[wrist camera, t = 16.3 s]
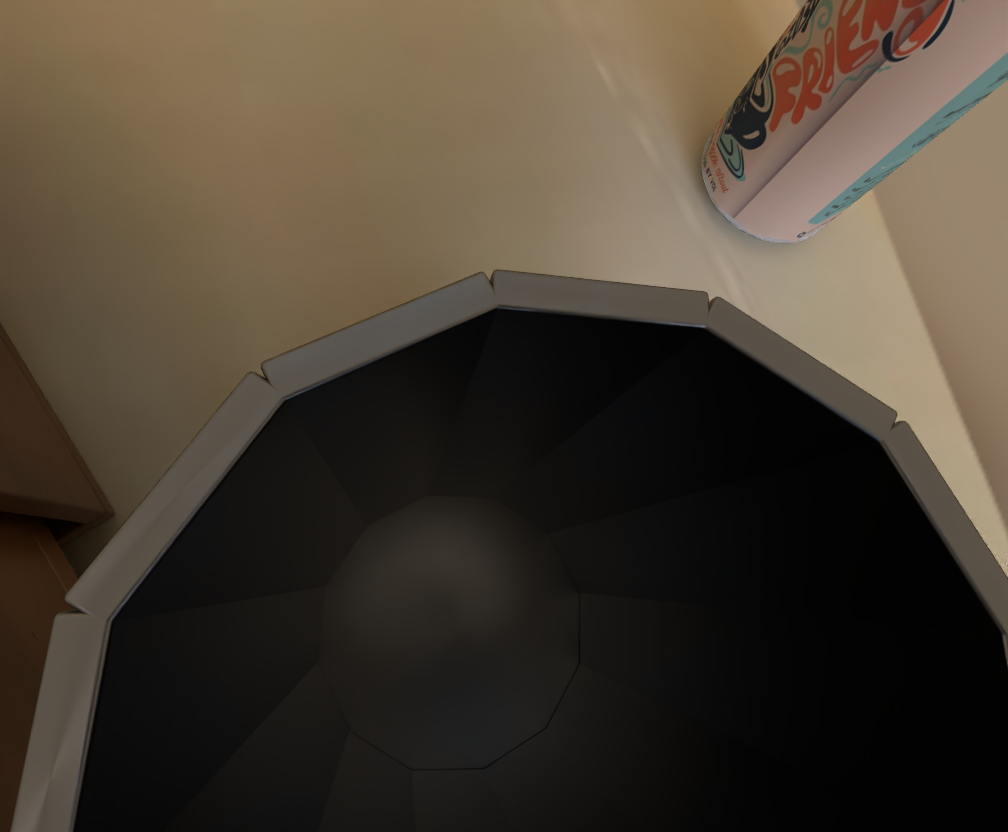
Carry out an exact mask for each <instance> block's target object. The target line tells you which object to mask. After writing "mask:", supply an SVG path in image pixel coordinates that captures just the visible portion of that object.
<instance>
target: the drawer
mask: <svg viewBox="0 0 1008 832" xmlns="http://www.w3.org/2000/svg"><path fill="white" fill-rule="evenodd" d="M77 580H78V577H77V576H76V574H75V572H74V570H73V569H72V567H71V565H70V564H69V562H68V560H67V559H66V557H65V555H64V553H63V552H62V550H61V548H60V547H59V545H58V543H57V542H56V540H55V538H54V536H53V535H52V533H51V531H50V530H49V528H48V526H47V525H46V523H45V521H44V519H43V518H42V517H38V516H31V515H24V514H18V513H11V512H4V511H0V832H10V830H11V825H12V820H13V815H14V811H15V806H16V801H17V796H18V791H19V786H20V781H21V776H22V772H23V767H24V762H25V757H26V752H27V747H28V742H29V738H30V733H31V728H32V723H33V718H34V713H35V708H36V703H37V699H38V694H39V689H40V684H41V679H42V674H43V669H44V665H45V660H46V655H47V650H48V645H49V640H50V635H51V631H52V626H53V621H54V617H55V616H56V614H57V613H59V612H61V611H66V610H75V608H74V607H72V606H71V605H69V604H67V602H66V601H65V600H64V597H65V595H66V593H67V592H68V591H69V590H70V588H71V587H72V586H73V585H74V584H75V582H76V581H77Z"/></svg>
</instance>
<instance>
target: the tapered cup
mask: <svg viewBox="0 0 1008 832" xmlns="http://www.w3.org/2000/svg"><path fill="white" fill-rule="evenodd" d="M261 370H262V372H263V374H264V376H265V378H266V379H265V378H264V377H262V376H260V375H259V374H257V373H256V372H251V371H250V372H249V373H247V374H246V375H245V377H244V378H243V379H242V380H241V382H240V383H239V384H238V385H237V386H236V388H235V389H234V390H233V391H232V392H231V394H230V395H229V396H228V397H227V399H226V400H225V401H224V402H223V403H222V405H221V406H220V407H219V408H218V410H217V411H216V412H215V413H214V414H213V416H212V417H211V418H210V419H209V420H208V422H207V423H206V424H205V425H204V427H203V428H202V429H201V430H200V431H199V433H198V434H197V435H196V436H195V438H194V439H193V440H192V441H191V442H190V444H189V445H188V446H187V447H186V448H185V450H184V451H183V452H182V453H181V455H180V456H179V457H178V458H177V459H176V461H175V462H174V463H173V464H172V466H171V467H170V468H169V469H168V470H167V472H166V473H165V474H164V475H163V476H162V478H161V479H160V480H159V481H158V483H157V484H156V485H155V486H154V487H153V489H152V490H151V491H150V492H149V494H148V495H147V496H146V497H145V498H144V500H143V501H142V502H141V503H140V504H139V506H138V507H137V508H136V509H135V511H134V512H133V513H132V514H131V515H130V517H129V518H128V519H127V520H126V522H125V523H124V524H123V525H122V526H121V528H120V529H119V530H118V531H117V532H116V534H115V535H114V536H113V537H112V539H111V540H110V541H109V542H108V543H107V545H106V546H105V547H104V548H103V550H102V551H101V552H100V553H99V554H98V556H97V557H96V558H95V559H94V560H93V562H92V563H91V564H90V565H89V567H88V568H87V569H86V570H85V571H84V573H83V574H82V575H81V576H80V578H79V579H78V580H77V581H76V582H75V584H74V585H73V586H72V587H71V588H70V590H69V591H68V592H67V593H66V595H65V597H64V600H65V601H66V602H67V604H69V605H71V606H72V607H74V608H75V610H66V611H61V612H59V613H57V614H56V616H55V617H54V621H53V626H52V631H51V635H50V640H49V645H48V650H47V655H46V660H45V665H44V669H43V674H42V679H41V684H40V689H39V694H38V699H37V703H36V708H35V713H34V718H33V723H32V728H31V733H30V738H29V742H28V747H27V752H26V757H25V762H24V767H23V772H22V776H21V781H20V786H19V791H18V796H17V801H16V806H15V811H14V815H13V820H12V825H11V830H10V832H1008V577H1007V576H1006V574H1005V573H1004V571H1003V570H1002V568H1001V566H1000V565H999V563H998V562H997V560H996V559H995V557H994V556H993V554H992V553H991V551H990V549H989V548H988V546H987V545H986V543H985V542H984V540H983V539H982V537H981V536H980V534H979V532H978V531H977V529H976V528H975V526H974V525H973V523H972V522H971V520H970V519H969V517H968V516H967V514H966V512H965V511H964V509H963V508H962V506H961V505H960V503H959V502H958V500H957V499H956V497H955V495H954V494H953V492H952V491H951V489H950V488H949V486H948V485H947V483H946V482H945V480H944V478H943V477H942V475H941V474H940V472H939V471H938V469H937V468H936V466H935V465H934V463H933V461H932V460H931V458H930V457H929V455H928V454H927V452H926V451H925V449H924V448H923V446H922V444H921V443H920V441H919V440H918V438H917V437H916V435H915V434H914V432H913V431H912V429H911V427H910V426H909V424H908V423H907V422H906V421H899V422H896V423H894V422H895V420H896V417H897V412H896V411H895V410H893V409H892V408H890V407H889V406H887V405H886V404H884V403H883V402H881V401H880V400H878V399H876V398H875V397H873V396H872V395H870V394H869V393H867V392H866V391H864V390H863V389H861V388H859V387H858V386H856V385H855V384H853V383H852V382H850V381H849V380H847V379H846V378H844V377H843V376H841V375H839V374H838V373H836V372H835V371H833V370H832V369H830V368H829V367H827V366H826V365H824V364H822V363H821V362H819V361H818V360H816V359H815V358H813V357H812V356H810V355H809V354H807V353H806V352H804V351H802V350H801V349H799V348H798V347H796V346H795V345H793V344H792V343H790V342H789V341H787V340H785V339H784V338H782V337H781V336H779V335H778V334H776V333H775V332H773V331H772V330H770V329H769V328H767V327H765V326H764V325H762V324H761V323H759V322H758V321H756V320H755V319H753V318H752V317H750V316H748V315H747V314H745V313H744V312H742V311H741V310H739V309H738V308H736V307H735V306H733V305H731V304H730V303H728V302H727V301H725V300H724V299H722V298H721V297H715V298H713V299H712V300H711V301H710V302H709V299H708V294H707V292H704V291H694V290H685V289H676V288H666V287H657V286H648V285H638V284H629V283H620V282H610V281H601V280H592V279H582V278H573V277H563V276H554V275H545V274H535V273H526V272H517V271H507V270H494V271H493V273H492V275H491V278H490V281H489V279H488V277H487V276H486V274H485V273H484V272H479V273H476V274H474V275H471V276H469V277H467V278H464V279H462V280H459V281H457V282H454V283H452V284H450V285H447V286H445V287H442V288H440V289H438V290H435V291H433V292H430V293H428V294H425V295H423V296H421V297H418V298H416V299H413V300H411V301H408V302H406V303H404V304H401V305H399V306H396V307H394V308H391V309H389V310H387V311H384V312H382V313H379V314H377V315H374V316H372V317H370V318H367V319H365V320H362V321H360V322H358V323H355V324H353V325H350V326H348V327H345V328H343V329H341V330H338V331H336V332H333V333H331V334H328V335H326V336H324V337H321V338H319V339H316V340H314V341H311V342H309V343H307V344H304V345H302V346H299V347H297V348H295V349H292V350H290V351H287V352H285V353H282V354H280V355H278V356H275V357H273V358H270V359H268V360H265V361H264V362H262V363H261Z"/></svg>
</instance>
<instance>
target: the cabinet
mask: <svg viewBox="0 0 1008 832" xmlns="http://www.w3.org/2000/svg"><path fill="white" fill-rule="evenodd" d="M0 511H4V512H11V513H18V514H24V515H31V516H38V517H42V518H43V519H44V521H45V523H46V525H47V526H48V528H49V530H50V531H51V533H52V535H53V536H54V538H55V540H56V542H57V543H58V545H59V547H60V546H62V545H63V544H65V543H67V542H69V541H70V540H72V539H74V538H75V537H77V536H79V535H81V534H82V533H84V532H86V531H87V530H89V529H91V528H93V527H94V526H96V525H98V524H99V523H101V522H103V521H105V520H106V519H108V518H110V517H111V516H113V515H114V511H113V509H112V508H111V506H110V504H109V503H108V501H107V499H106V498H105V496H104V494H103V493H102V491H101V489H100V488H99V486H98V484H97V483H96V481H95V480H94V478H93V476H92V475H91V473H90V471H89V470H88V468H87V466H86V465H85V463H84V461H83V460H82V458H81V456H80V455H79V453H78V451H77V450H76V448H75V446H74V445H73V443H72V441H71V440H70V438H69V436H68V435H67V433H66V432H65V430H64V428H63V427H62V425H61V423H60V422H59V420H58V418H57V417H56V415H55V413H54V412H53V410H52V408H51V407H50V405H49V403H48V402H47V400H46V398H45V397H44V395H43V393H42V392H41V390H40V388H39V387H38V385H37V383H36V382H35V380H34V379H33V377H32V375H31V374H30V372H29V370H28V369H27V367H26V365H25V364H24V362H23V360H22V359H21V357H20V355H19V354H18V352H17V350H16V349H15V347H14V345H13V344H12V342H11V340H10V339H9V337H8V335H7V334H6V332H5V330H4V329H3V327H2V326H1V324H0Z"/></svg>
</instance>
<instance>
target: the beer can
mask: <svg viewBox="0 0 1008 832" xmlns="http://www.w3.org/2000/svg"><path fill="white" fill-rule="evenodd" d="M1006 80H1008V0H807V1H806V3H805V4H804V6H803V7H802V8H801V9H800V11H799V12H798V14H797V15H796V16H795V18H794V19H793V21H792V22H791V23H790V25H789V26H788V28H787V29H786V30H785V32H784V33H783V34H782V36H781V37H780V39H779V40H778V41H777V43H776V44H775V46H774V47H773V48H772V50H771V51H770V52H769V54H768V55H767V57H766V58H765V59H764V61H763V62H762V64H761V65H760V66H759V68H758V69H757V71H756V72H755V73H754V75H753V76H752V77H751V79H750V80H749V82H748V83H747V84H746V86H745V87H744V89H743V90H742V91H741V93H740V94H739V95H738V97H737V98H736V100H735V101H734V102H733V104H732V105H731V107H730V108H729V109H728V111H727V112H726V114H725V115H724V116H723V118H722V119H721V120H720V122H719V123H718V125H717V126H716V127H715V129H714V130H713V132H712V133H711V135H710V137H709V138H708V140H707V142H706V144H705V146H704V150H703V155H702V176H703V179H704V183H705V186H706V189H707V192H708V195H709V197H710V198H711V200H712V202H713V203H714V205H715V207H716V208H717V209H718V210H719V211H720V212H721V213H722V214H723V215H724V216H725V217H726V218H727V219H728V220H729V221H730V222H731V223H732V224H733V225H734V226H735V227H737V228H739V229H740V230H742V231H743V232H745V233H747V234H748V235H750V236H753V237H756V238H758V239H761V240H764V241H767V242H773V243H794V242H799V241H803V240H805V239H807V238H809V237H811V236H813V235H815V234H817V233H818V232H819V231H820V230H821V229H823V228H824V227H825V226H826V225H827V224H828V223H829V222H831V221H832V220H833V219H834V218H836V217H837V216H838V215H839V214H841V213H842V212H843V211H844V210H846V209H847V208H848V207H849V206H851V205H852V204H853V203H854V202H856V201H857V200H858V199H859V198H861V197H862V196H863V195H864V194H866V193H867V192H868V191H869V190H870V189H872V188H873V187H874V186H875V185H877V184H878V183H879V182H880V181H882V180H883V179H884V178H885V177H887V176H888V175H889V174H890V173H892V172H893V171H894V170H895V169H897V168H898V167H899V166H900V165H902V164H903V163H904V162H905V161H907V160H908V159H909V158H910V157H912V156H913V155H914V154H915V153H916V152H918V151H919V150H920V149H921V148H923V147H924V146H925V145H926V144H928V143H929V142H930V141H932V140H933V139H934V138H935V137H936V136H938V135H939V134H940V133H941V132H943V131H944V130H945V129H946V128H948V127H949V126H950V125H951V124H953V123H954V122H955V121H956V120H958V119H959V118H960V117H961V116H963V115H964V114H965V113H966V112H968V111H969V110H970V109H971V108H973V107H974V106H975V105H976V104H978V103H979V102H980V101H981V100H982V99H984V98H985V97H986V96H988V95H989V94H990V93H991V92H992V91H994V90H995V89H996V88H998V87H999V86H1000V85H1001V84H1003V83H1004V82H1005V81H1006Z"/></svg>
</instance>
